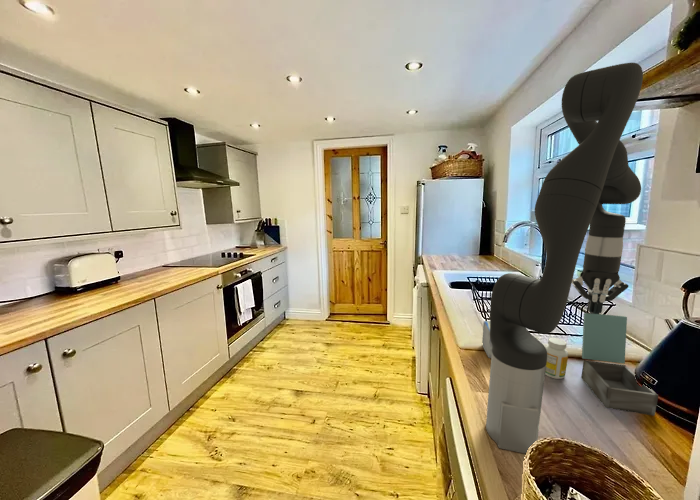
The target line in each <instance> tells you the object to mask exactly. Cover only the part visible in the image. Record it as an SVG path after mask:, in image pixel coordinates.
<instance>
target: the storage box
mask: <svg viewBox="0 0 700 500" xmlns="http://www.w3.org/2000/svg"><path fill="white" fill-rule="evenodd" d="M581 369H582V371H581V377H580V378H581V379H582V380H583V381H584V383H585V384H586V386H588V388H589V389H590V391H591V392H592V393H593V394H594V396H595V397H596V398H597V399H598V401H599V402H600V403H601V404H602V405H603V407H604V408H605V409H610V410H615V411H623V412H627V413H635V414H641V415H648V416H653V417H654V416H655V415H656V410H657V405H658V400H659V394H657V393H656V392H655V391H654V390H653V389H652V388H651V387H650V388H651V389H650V388H648V387H647V386H645V385H644V384H643V385H642V387H641V386H639V385H638V384H637V382H636V379H635V375H636V374H635V372H633V370H632V369H630V368H629V367H628V366H627V365H625V364H620V363H612V362H603V361H595V360H587V359H585V360H584V359H583V362H582V368H581Z"/></svg>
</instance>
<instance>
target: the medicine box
mask: <svg viewBox="0 0 700 500" xmlns="http://www.w3.org/2000/svg"><path fill="white" fill-rule="evenodd" d="M481 343H483V346H482V347H483V349H484V352H485V353H486V356H487V357H488V358H489V359H491V357H492V343H491V340H490V320H484V321H483V325H482V339H481Z"/></svg>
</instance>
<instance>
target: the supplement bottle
mask: <svg viewBox="0 0 700 500" xmlns="http://www.w3.org/2000/svg"><path fill="white" fill-rule="evenodd" d="M544 346H545V348H546V350H547V363H546V371H545V376H547V377H549V378H552V379H556V380H557V379H558V380H561V379H564V378H565V377H566V374H567V365H568V359H569V351H568V350H567V349H566V348H567V342H566V341H565V340H563V339H561V338H558V337H549V339H548V341H547V345H544Z"/></svg>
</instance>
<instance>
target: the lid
mask: <svg viewBox="0 0 700 500" xmlns="http://www.w3.org/2000/svg"><path fill="white" fill-rule="evenodd" d="M627 324H628V316H625V315H614V314H613V315H612V314H602V313H599V314H592V313H590V312H584V313H583V327H582V328H583V329H582V347H581V349H582V350H581V352H582V353H581V358H582V359H583V360H584V359H585V360H590V361H598V362H606V363H615V364H623V365H625V362H626V348H627V347H626V346H627V345H626V343H627V328H628V327H627Z"/></svg>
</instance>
